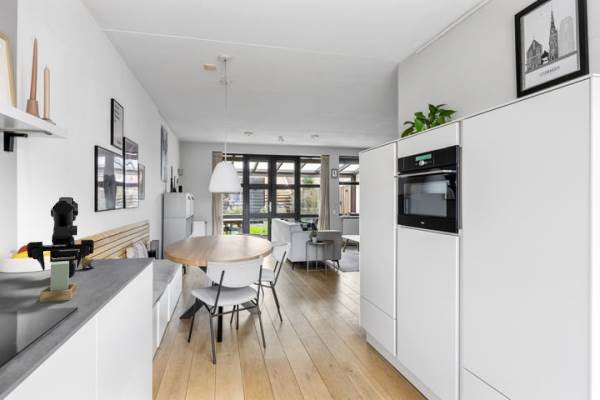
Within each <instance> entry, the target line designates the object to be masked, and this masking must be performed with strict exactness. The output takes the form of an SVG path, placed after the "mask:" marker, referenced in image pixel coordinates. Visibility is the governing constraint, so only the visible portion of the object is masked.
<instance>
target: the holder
mask: <svg viewBox="0 0 600 400" xmlns="http://www.w3.org/2000/svg"><path fill="white" fill-rule="evenodd" d="M77 293H78V283H69V286H68V290H60V291H50V285H48V286H46V287H45V288H44V289H43V290H41V291H40V293H39V302H40V303H48V302H61V301H70V300H72V299H74V297H75V296H76V295H77Z"/></svg>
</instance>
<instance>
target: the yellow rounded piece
mask: <svg viewBox="0 0 600 400" xmlns="http://www.w3.org/2000/svg"><path fill="white" fill-rule="evenodd" d="M94 261H95V259H94V257H92V258H91V257H88V256H86V257H85V258H84V259H83V260H82V262H81V264H80V265H81V269H83V270H85V269H86V268H87V267H88V268H91V269H95V266H94V265H93V262H94Z"/></svg>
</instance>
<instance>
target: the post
mask: <svg viewBox="0 0 600 400" xmlns="http://www.w3.org/2000/svg"><path fill="white" fill-rule="evenodd" d="M50 263H51V264H50V285H49V286H50V291H60V290H68V286H69V284H70V283H69V279H70V277H69V261H62V262H50Z"/></svg>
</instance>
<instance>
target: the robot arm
mask: <svg viewBox="0 0 600 400" xmlns="http://www.w3.org/2000/svg"><path fill="white" fill-rule="evenodd" d="M50 216H51V218H53V227H52V228H53V229H52V231H53V232H52V235H51V244H45V245H44V244H43V243H44V242H43V241H29V242H28V243H27V245H26V253H27V258H29V259H33V260H36V261H37V262H38V263H39V265H40V267H41V269H42V271H43V272H44V271H45V269H46V266H45V264H46V263H45V256H44V252H49V262H50V263H52V262H62V261H69V278H72V277H73V276H74V275H75V274H76V268H77V269H79V267H80V265H81V262H82V260H83V259H84V258H85V257H88V256H90V255H93V253H94V248H95V247H94V246H95V241H94V240H93V239H81V240H80V243H76V241H75V236H77V235H78V225H74V222H75V221H77V220H76V219H77V216H79V203H78V202H76V201H75V200H74V197H70V196H69V197H68V196H61V197H59V199H58V201H56V203H54V205H53V206H52V207H51V209H50ZM75 261H76V262H75Z"/></svg>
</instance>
